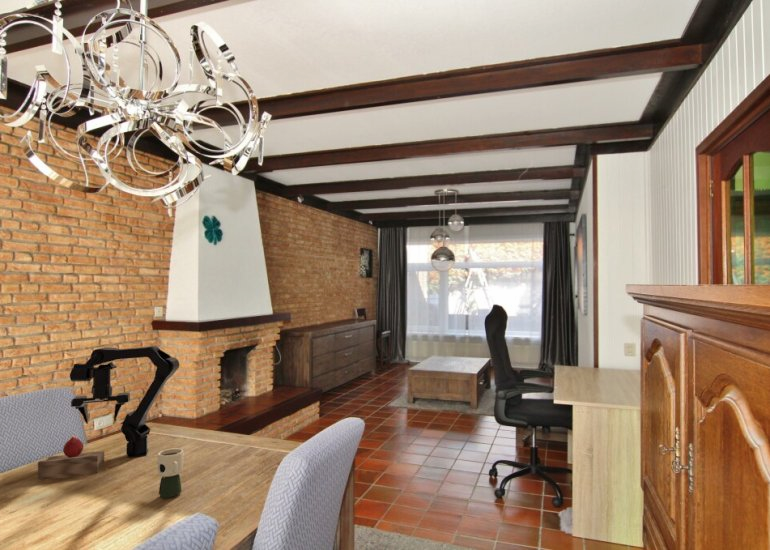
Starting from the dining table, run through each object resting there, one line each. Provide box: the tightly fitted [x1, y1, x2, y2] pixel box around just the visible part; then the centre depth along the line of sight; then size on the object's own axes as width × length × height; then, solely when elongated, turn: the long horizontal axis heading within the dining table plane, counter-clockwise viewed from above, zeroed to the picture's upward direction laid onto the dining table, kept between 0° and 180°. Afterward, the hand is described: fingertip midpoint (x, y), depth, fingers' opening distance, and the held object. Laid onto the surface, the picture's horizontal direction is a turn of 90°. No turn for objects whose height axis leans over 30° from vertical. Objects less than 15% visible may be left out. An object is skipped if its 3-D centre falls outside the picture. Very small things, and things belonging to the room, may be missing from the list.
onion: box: [62, 435, 84, 458], centre depth 163 cm, size 6×6×8 cm
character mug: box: [156, 447, 184, 499], centre depth 142 cm, size 11×7×13 cm, turn 41°
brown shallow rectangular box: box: [37, 450, 105, 481], centre depth 162 cm, size 17×12×6 cm
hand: (101, 422), depth 178 cm, fingers open, 9 cm apart
